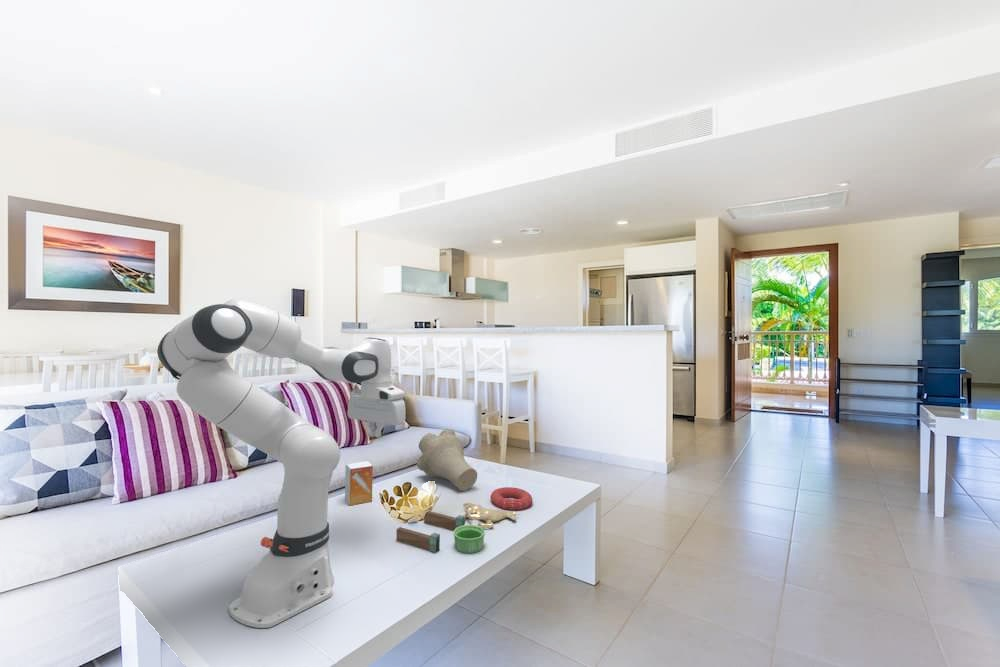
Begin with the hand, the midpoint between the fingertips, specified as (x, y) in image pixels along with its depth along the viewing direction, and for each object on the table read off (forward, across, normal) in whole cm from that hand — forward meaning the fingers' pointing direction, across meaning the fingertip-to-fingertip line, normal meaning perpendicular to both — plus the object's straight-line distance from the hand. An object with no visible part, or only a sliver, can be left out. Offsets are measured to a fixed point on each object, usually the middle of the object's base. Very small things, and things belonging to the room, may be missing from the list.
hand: (375, 436), depth 136 cm
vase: (+29, -3, +45) cm, 54 cm away
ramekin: (+30, +30, +6) cm, 43 cm away
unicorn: (+30, +25, +25) cm, 46 cm away
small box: (+29, -21, +15) cm, 39 cm away
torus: (+30, +27, +41) cm, 57 cm away
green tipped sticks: (+29, +17, +6) cm, 34 cm away
